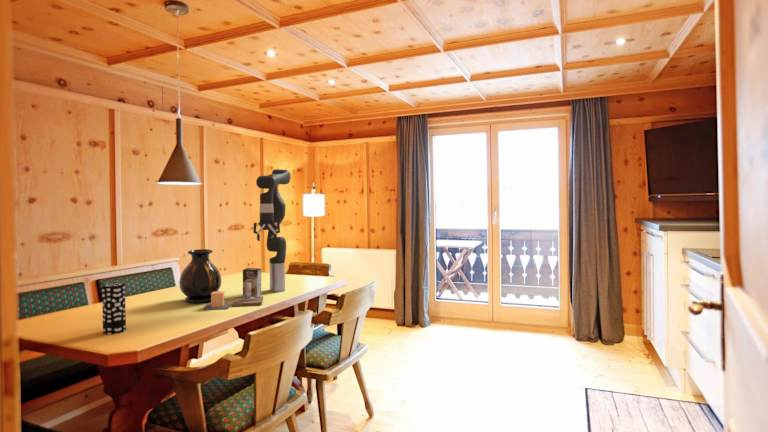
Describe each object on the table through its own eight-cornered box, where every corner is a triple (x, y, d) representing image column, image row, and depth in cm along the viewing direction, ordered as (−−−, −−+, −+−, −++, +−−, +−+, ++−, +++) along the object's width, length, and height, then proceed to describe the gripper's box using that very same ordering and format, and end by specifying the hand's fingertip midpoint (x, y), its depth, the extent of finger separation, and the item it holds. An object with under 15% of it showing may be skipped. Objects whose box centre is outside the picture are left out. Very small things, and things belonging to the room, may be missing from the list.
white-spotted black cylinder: (109, 328, 190) (108, 283, 189) (129, 328, 191) (128, 282, 190) (98, 334, 182) (97, 286, 181) (119, 334, 183) (118, 286, 182)
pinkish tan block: (213, 304, 231) (212, 291, 231) (224, 304, 233) (224, 291, 232) (211, 307, 226) (211, 293, 226) (222, 306, 227) (222, 293, 227)
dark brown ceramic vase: (221, 303, 237) (220, 251, 236) (177, 306, 230) (176, 253, 229) (221, 295, 257) (221, 247, 256) (181, 298, 250) (180, 249, 249)
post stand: (235, 300, 244) (234, 281, 244) (263, 299, 247) (262, 280, 247) (231, 306, 229) (231, 286, 229) (261, 305, 233) (261, 285, 232)
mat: (207, 304, 234) (207, 303, 234) (230, 303, 236) (230, 302, 236) (202, 310, 222) (202, 309, 222) (227, 309, 225) (227, 307, 225)
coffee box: (242, 297, 251) (241, 269, 251) (246, 295, 258) (246, 267, 257) (257, 297, 251) (257, 269, 250) (261, 295, 257) (261, 268, 256)
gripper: (279, 211, 249) (280, 240, 249) (253, 211, 246) (254, 240, 246) (279, 212, 242) (279, 241, 242) (252, 212, 238) (253, 241, 239)
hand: (266, 240), depth 244 cm, fingers open, 8 cm apart
